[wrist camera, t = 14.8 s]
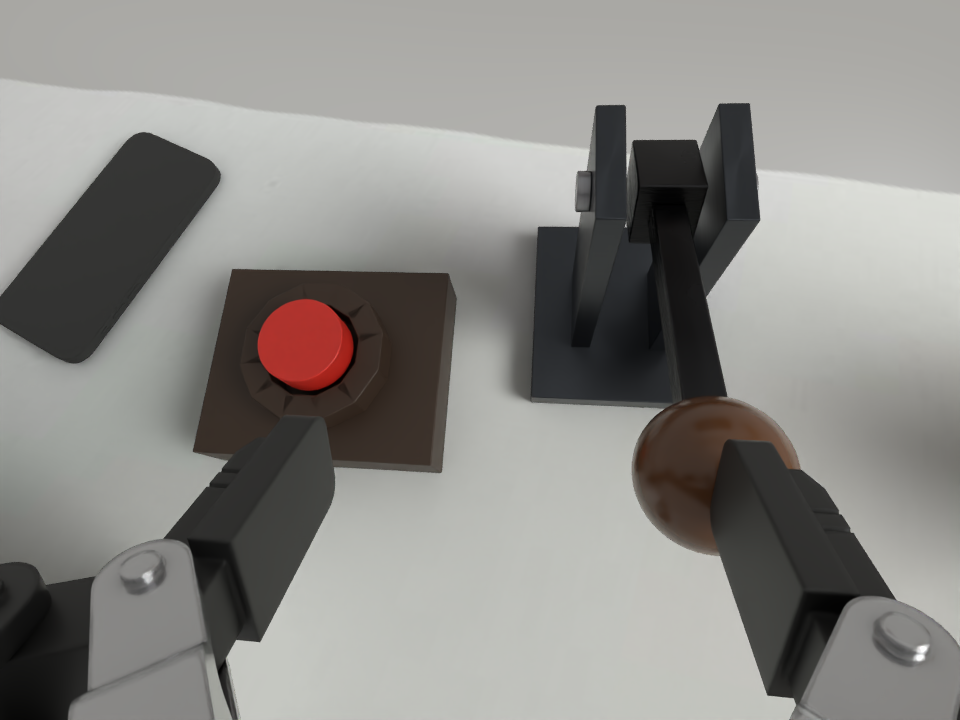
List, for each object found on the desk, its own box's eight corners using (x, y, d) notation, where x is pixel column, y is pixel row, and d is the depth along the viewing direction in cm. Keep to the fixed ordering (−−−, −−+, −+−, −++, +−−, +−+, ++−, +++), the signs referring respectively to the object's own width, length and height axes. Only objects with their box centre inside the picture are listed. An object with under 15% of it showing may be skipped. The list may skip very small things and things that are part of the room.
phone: (223, 165, 36) (72, 367, 32) (230, 173, 37) (83, 371, 33) (136, 126, 38) (-16, 314, 34) (144, 135, 38) (-4, 319, 35)
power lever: (784, 584, 13) (855, 521, 10) (626, 572, 14) (653, 508, 11) (697, 210, 22) (722, 122, 19) (603, 210, 22) (614, 123, 20)
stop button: (267, 389, 27) (249, 379, 25) (281, 311, 28) (265, 297, 27) (348, 392, 27) (335, 383, 25) (359, 313, 28) (347, 299, 26)
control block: (225, 460, 31) (169, 446, 26) (258, 292, 34) (213, 252, 29) (441, 473, 30) (424, 460, 25) (456, 297, 33) (443, 256, 28)
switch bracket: (704, 410, 29) (841, 307, 16) (530, 402, 30) (527, 299, 17) (696, 238, 32) (806, 33, 19) (537, 236, 33) (539, 40, 20)
